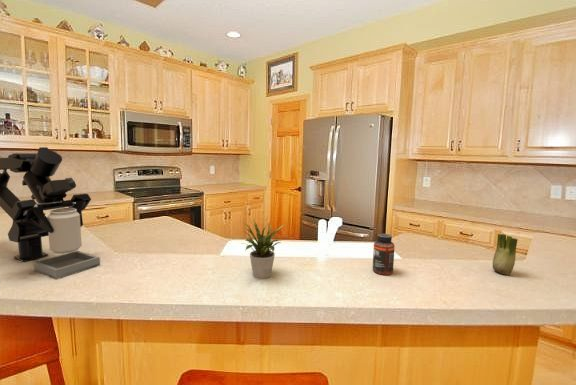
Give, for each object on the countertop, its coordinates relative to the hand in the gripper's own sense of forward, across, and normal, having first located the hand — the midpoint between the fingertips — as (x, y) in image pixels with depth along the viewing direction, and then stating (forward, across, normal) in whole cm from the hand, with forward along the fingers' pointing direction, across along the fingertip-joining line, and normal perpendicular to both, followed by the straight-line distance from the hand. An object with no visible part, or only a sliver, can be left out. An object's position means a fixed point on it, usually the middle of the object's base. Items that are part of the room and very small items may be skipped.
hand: (67, 228), depth 87 cm
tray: (+8, 0, +9) cm, 12 cm away
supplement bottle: (+66, +41, -50) cm, 92 cm away
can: (+4, 0, +6) cm, 7 cm away
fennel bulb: (+89, +57, -74) cm, 129 cm away
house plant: (+43, +21, -27) cm, 56 cm away
